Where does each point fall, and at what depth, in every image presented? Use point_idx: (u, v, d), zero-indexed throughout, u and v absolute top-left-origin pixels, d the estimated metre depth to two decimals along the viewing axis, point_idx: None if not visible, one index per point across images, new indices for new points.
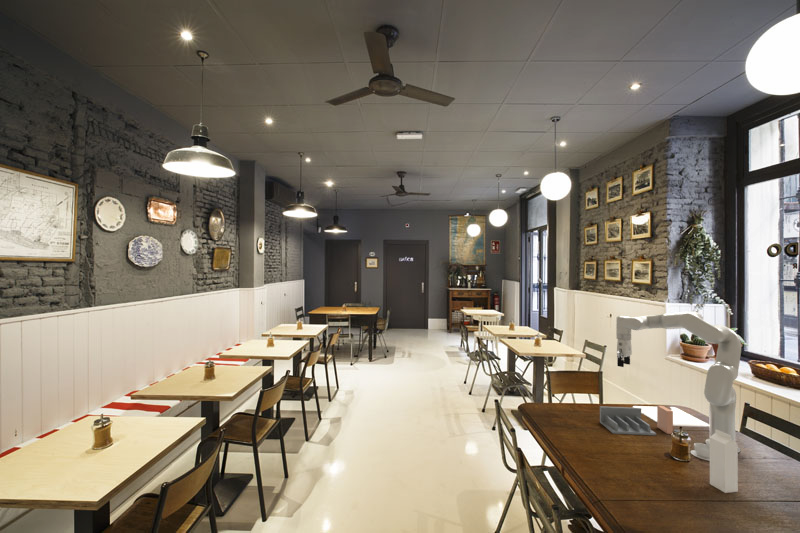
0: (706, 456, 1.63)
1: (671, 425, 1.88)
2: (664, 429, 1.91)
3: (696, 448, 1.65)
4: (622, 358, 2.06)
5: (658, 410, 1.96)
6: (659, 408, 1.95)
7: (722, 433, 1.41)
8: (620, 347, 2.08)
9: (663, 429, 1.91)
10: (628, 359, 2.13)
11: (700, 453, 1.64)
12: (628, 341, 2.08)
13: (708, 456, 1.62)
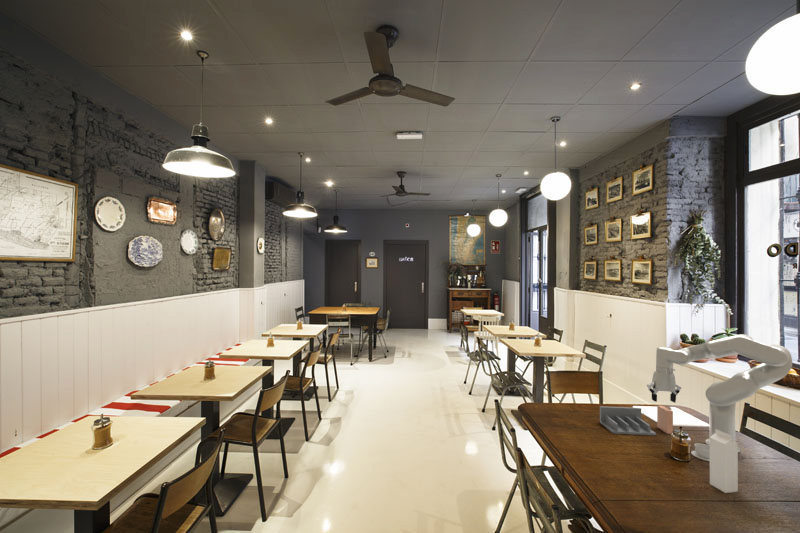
0: (707, 457, 1.62)
1: (671, 425, 1.88)
2: (664, 429, 1.91)
3: (697, 449, 1.65)
4: None
5: (658, 410, 1.96)
6: (659, 408, 1.95)
7: (722, 433, 1.41)
8: None
9: (663, 429, 1.91)
10: None
11: (700, 454, 1.64)
12: None
13: (709, 457, 1.62)
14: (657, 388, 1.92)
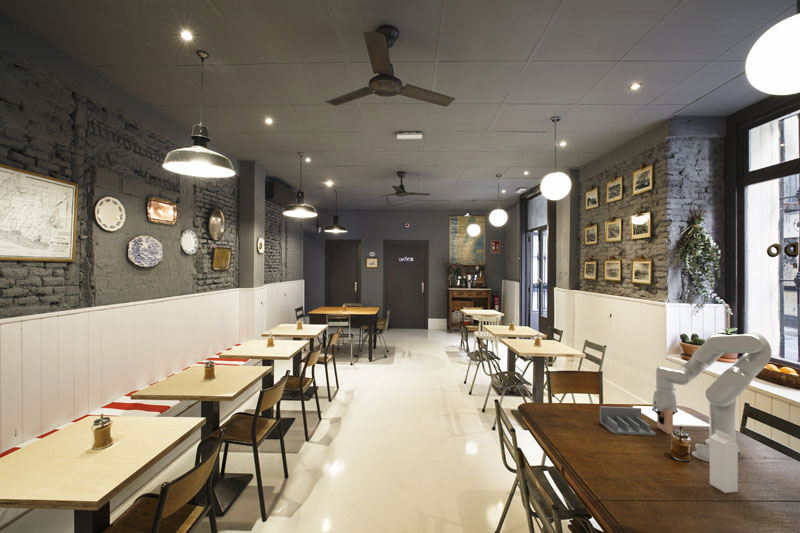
0: (707, 457, 1.62)
1: (671, 425, 1.88)
2: (664, 429, 1.91)
3: (697, 449, 1.64)
4: None
5: None
6: None
7: (722, 433, 1.41)
8: None
9: (663, 429, 1.91)
10: None
11: (701, 455, 1.63)
12: None
13: (709, 457, 1.61)
14: (658, 408, 1.91)
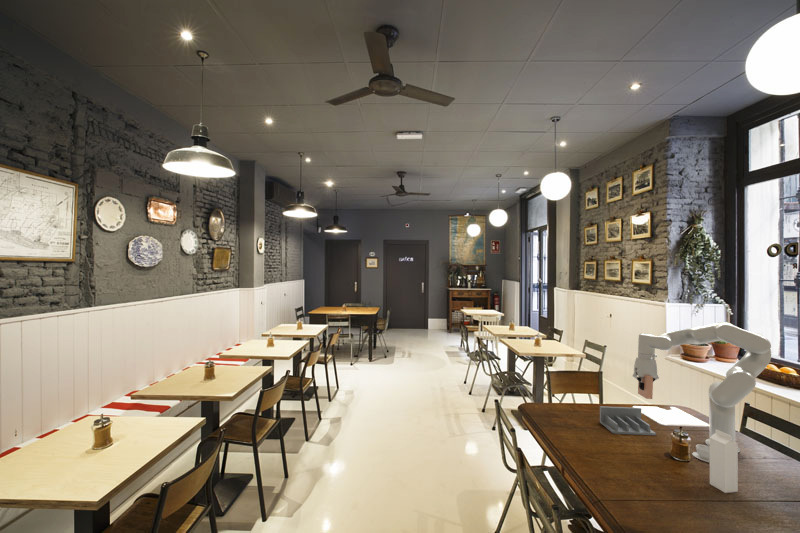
0: (708, 458, 1.61)
1: (651, 390, 1.90)
2: (644, 394, 1.92)
3: (698, 450, 1.64)
4: None
5: None
6: None
7: (722, 433, 1.41)
8: None
9: (643, 395, 1.93)
10: None
11: (702, 455, 1.62)
12: None
13: None
14: (638, 374, 1.92)
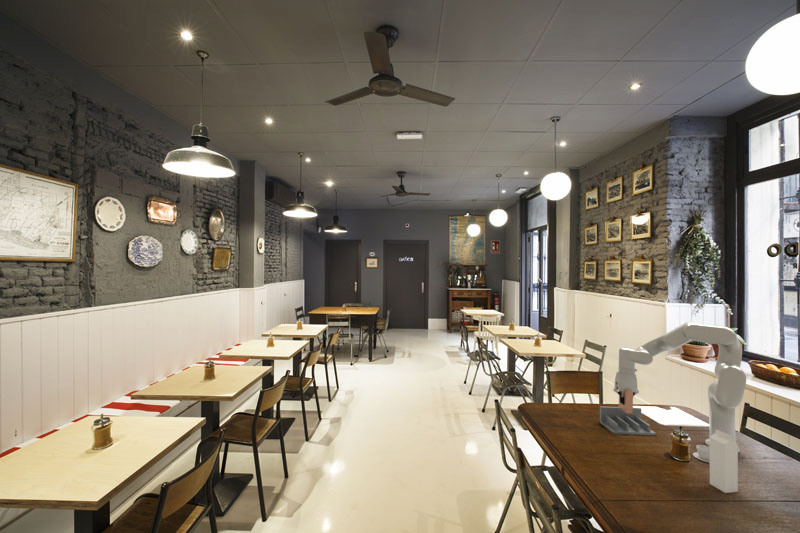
0: (709, 458, 1.61)
1: (631, 405, 1.90)
2: (624, 409, 1.93)
3: (698, 450, 1.63)
4: None
5: None
6: None
7: (722, 433, 1.41)
8: None
9: (623, 409, 1.93)
10: None
11: (702, 456, 1.62)
12: None
13: None
14: (619, 388, 1.93)
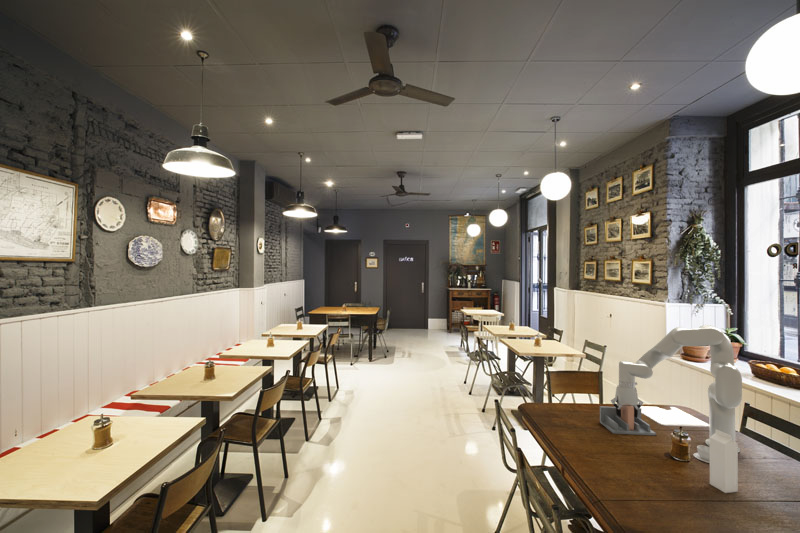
0: (709, 459, 1.60)
1: (632, 421, 1.90)
2: None
3: (699, 451, 1.63)
4: None
5: (621, 406, 1.97)
6: None
7: (722, 433, 1.41)
8: None
9: None
10: None
11: (703, 456, 1.62)
12: None
13: None
14: (620, 402, 1.93)
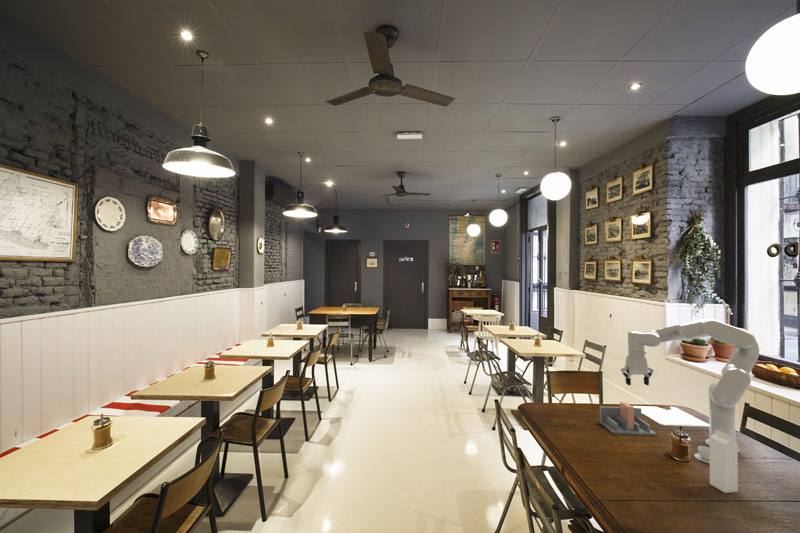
0: None
1: (632, 421, 1.90)
2: None
3: (700, 451, 1.62)
4: None
5: (621, 406, 1.97)
6: (621, 404, 1.96)
7: (722, 433, 1.41)
8: None
9: None
10: None
11: (704, 457, 1.61)
12: None
13: None
14: (630, 372, 1.94)
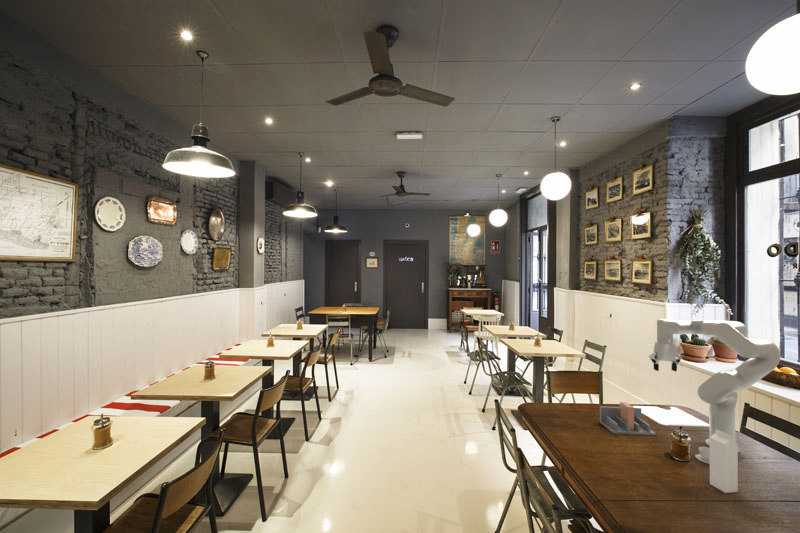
0: None
1: (632, 421, 1.90)
2: None
3: (701, 452, 1.61)
4: None
5: (621, 406, 1.97)
6: (621, 404, 1.96)
7: (722, 433, 1.41)
8: None
9: None
10: None
11: (705, 458, 1.60)
12: None
13: None
14: (658, 358, 2.00)
